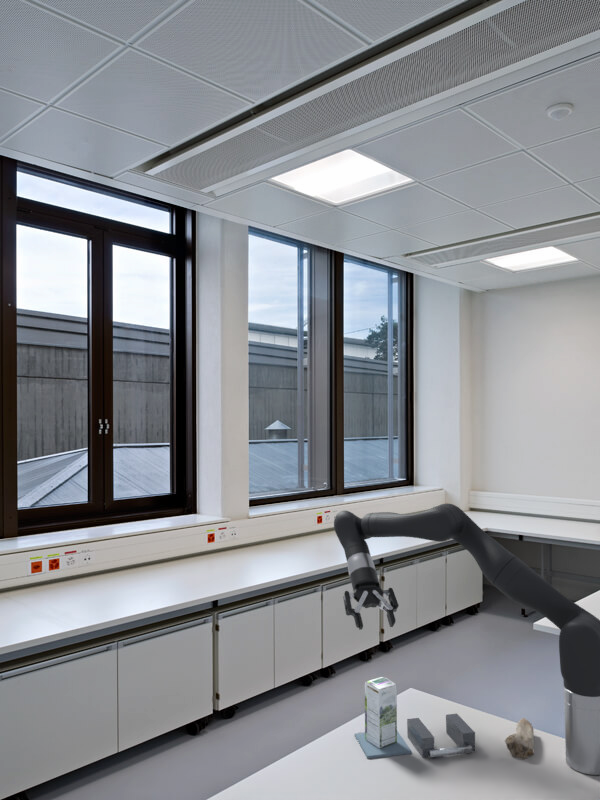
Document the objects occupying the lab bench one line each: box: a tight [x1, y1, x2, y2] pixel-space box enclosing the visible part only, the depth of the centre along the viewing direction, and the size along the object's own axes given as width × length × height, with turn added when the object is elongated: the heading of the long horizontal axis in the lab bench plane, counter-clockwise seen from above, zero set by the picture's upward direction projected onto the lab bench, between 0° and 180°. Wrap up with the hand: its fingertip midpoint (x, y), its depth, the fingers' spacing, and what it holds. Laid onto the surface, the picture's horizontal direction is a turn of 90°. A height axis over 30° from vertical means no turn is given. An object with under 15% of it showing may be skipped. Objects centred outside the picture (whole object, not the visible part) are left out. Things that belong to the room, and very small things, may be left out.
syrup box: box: [364, 676, 398, 748], centre depth 156 cm, size 6×6×14 cm
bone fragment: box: [504, 717, 535, 760], centre depth 154 cm, size 14×6×5 cm, turn 148°
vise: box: [406, 713, 476, 759], centre depth 155 cm, size 13×12×4 cm
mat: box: [354, 730, 412, 760], centre depth 156 cm, size 11×11×1 cm
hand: (376, 626), depth 166 cm, fingers open, 8 cm apart
